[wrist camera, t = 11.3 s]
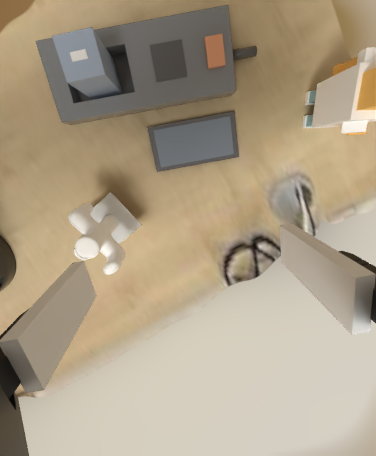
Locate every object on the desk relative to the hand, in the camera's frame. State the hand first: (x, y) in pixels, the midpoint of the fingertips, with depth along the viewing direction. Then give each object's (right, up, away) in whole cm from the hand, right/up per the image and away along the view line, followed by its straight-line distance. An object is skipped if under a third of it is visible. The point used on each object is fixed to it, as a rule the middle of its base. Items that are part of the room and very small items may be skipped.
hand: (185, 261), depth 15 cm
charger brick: (-12, +24, +19) cm, 33 cm away
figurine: (-13, +4, +26) cm, 30 cm away
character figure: (+22, +21, +23) cm, 38 cm away
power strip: (-5, +26, +19) cm, 33 cm away
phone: (+1, +16, +23) cm, 28 cm away
